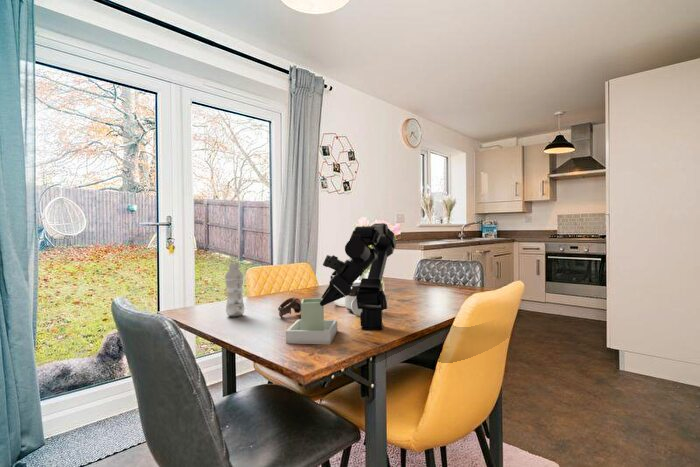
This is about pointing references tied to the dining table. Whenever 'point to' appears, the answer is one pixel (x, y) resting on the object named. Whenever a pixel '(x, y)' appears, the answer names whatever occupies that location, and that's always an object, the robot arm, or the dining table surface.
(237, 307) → the plastic bottle
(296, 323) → the grey crate
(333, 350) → the dining table surface
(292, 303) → the pottery mug
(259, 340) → the dining table surface
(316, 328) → the green crate
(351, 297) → the spread jar
